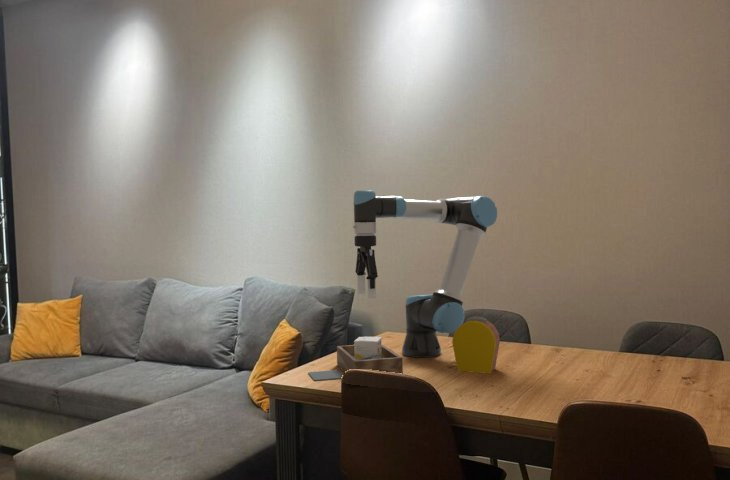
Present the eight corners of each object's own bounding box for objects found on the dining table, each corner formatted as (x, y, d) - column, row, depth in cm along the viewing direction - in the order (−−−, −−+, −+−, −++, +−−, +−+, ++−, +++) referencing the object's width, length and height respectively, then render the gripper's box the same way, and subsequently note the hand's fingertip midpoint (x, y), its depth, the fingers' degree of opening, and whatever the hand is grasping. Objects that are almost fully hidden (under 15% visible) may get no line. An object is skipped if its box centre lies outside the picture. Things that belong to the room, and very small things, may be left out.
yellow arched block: (500, 368, 226) (500, 316, 225) (495, 374, 218) (494, 320, 217) (459, 365, 232) (458, 314, 231) (452, 370, 224) (451, 318, 224)
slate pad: (339, 370, 227) (339, 369, 227) (346, 378, 216) (346, 377, 216) (308, 373, 224) (308, 372, 224) (314, 381, 213) (314, 379, 213)
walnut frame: (380, 361, 240) (379, 342, 240) (402, 378, 214) (402, 357, 214) (337, 365, 236) (336, 346, 235) (355, 382, 210) (354, 361, 210)
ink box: (378, 375, 220) (377, 341, 220) (354, 374, 222) (353, 340, 221) (382, 369, 228) (381, 336, 228) (359, 368, 230) (358, 335, 230)
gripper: (346, 234, 234) (347, 292, 235) (364, 236, 210) (365, 300, 211) (366, 233, 236) (367, 291, 237) (386, 235, 212) (387, 299, 213)
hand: (366, 295), depth 224 cm, fingers open, 13 cm apart
